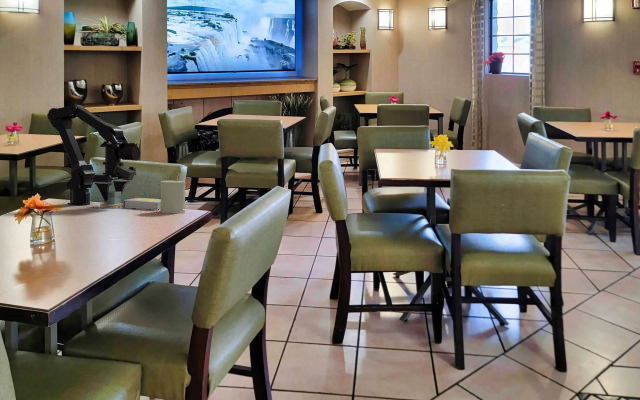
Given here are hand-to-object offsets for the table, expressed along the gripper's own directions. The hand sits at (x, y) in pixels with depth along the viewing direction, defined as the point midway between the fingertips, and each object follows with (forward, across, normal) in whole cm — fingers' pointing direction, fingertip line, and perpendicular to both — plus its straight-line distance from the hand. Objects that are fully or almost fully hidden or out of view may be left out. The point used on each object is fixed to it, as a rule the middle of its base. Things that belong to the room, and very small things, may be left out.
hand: (112, 199), depth 229 cm
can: (+3, -2, -26) cm, 26 cm away
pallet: (+3, 0, 0) cm, 3 cm away
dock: (+3, +5, -12) cm, 13 cm away
